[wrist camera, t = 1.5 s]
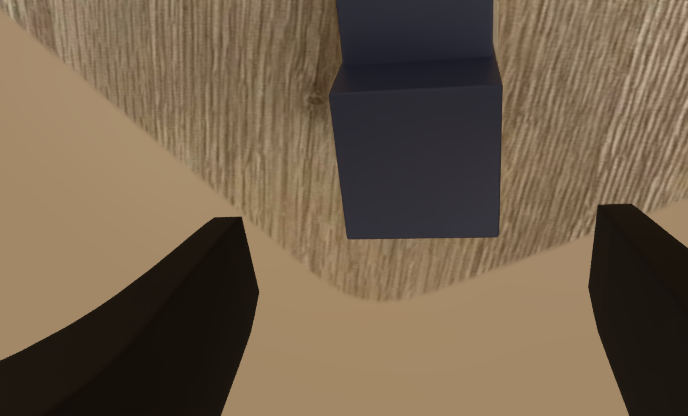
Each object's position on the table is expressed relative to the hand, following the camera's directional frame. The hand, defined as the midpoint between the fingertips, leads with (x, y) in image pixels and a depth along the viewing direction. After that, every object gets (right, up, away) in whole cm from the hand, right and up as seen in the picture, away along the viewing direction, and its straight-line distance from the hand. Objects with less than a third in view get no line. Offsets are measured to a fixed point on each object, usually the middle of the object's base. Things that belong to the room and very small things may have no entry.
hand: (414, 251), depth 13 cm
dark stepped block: (+1, +6, +7) cm, 9 cm away
